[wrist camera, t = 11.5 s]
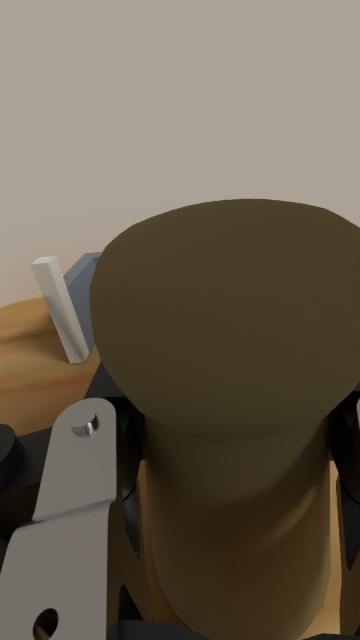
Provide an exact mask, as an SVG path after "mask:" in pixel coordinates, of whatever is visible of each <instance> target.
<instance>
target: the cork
mask: <svg viewBox="0 0 360 640" xmlns="http://www.w3.org/2000/svg"><path fill="white" fill-rule="evenodd" d="M89 303H90V319H91V325H92V331H93V336H94V340H95V343H96V346H97V349H98V352H99V355H100V358H101V361H102V364H103V366H104V368H105V369H106V370H107V372H108V373H109V375H110V376H111V377H112V379H113V380H114V381H115V383H116V384H117V386H118V387H119V388H120V389H121V391H122V392H123V393H124V394H125V395H126V396H127V397H128V399H129V400H130V401H131V402H132V403H133V404H134V405H135V407H136V408H137V409H138V410H139V411H140V412H141V413H143V419H144V427H145V438H146V455H147V460H145V468H146V482H147V495H148V508H149V521H150V534H151V548H152V555H153V560H154V564H155V568H156V573H157V577H158V582H159V585H160V587H161V589H162V591H163V592H164V594H165V596H166V598H167V600H168V601H169V603H170V605H171V607H172V609H173V610H174V612H175V614H176V616H177V617H178V618H179V619H181V620H182V621H183V622H184V623H185V624H186V625H187V626H188V627H189V628H190V629H191V630H193V631H194V632H196V633H199V634H201V635H203V636H205V637H207V638H210V639H212V640H294V639H296V638H298V637H300V636H301V635H303V633H304V632H305V630H306V629H307V627H308V626H309V625H310V623H311V622H312V620H313V619H314V617H315V616H316V615H317V613H318V612H319V610H320V609H321V607H322V605H323V600H324V596H325V592H326V588H327V583H328V579H329V575H330V457H329V419H328V414H329V413H330V412H331V411H332V410H333V409H334V408H335V407H336V406H337V405H338V404H339V403H340V402H341V401H343V400H344V399H345V398H346V397H347V396H348V395H349V394H350V393H351V392H352V391H353V389H354V388H355V387H356V385H357V384H358V383H359V381H360V228H359V227H358V226H356V225H354V224H353V223H351V222H349V221H348V220H346V219H344V218H343V217H341V216H339V215H337V214H335V213H333V212H331V211H329V210H327V209H324V208H320V207H316V206H311V205H307V204H302V203H294V202H286V201H278V200H268V199H235V200H221V201H214V202H206V203H200V204H195V205H190V206H186V207H182V208H178V209H175V210H171V211H169V212H165V213H163V214H159V215H157V216H154V217H151V218H148V219H146V220H144V221H141V222H139V223H136V224H134V225H132V226H131V227H129V228H128V229H126V230H125V231H124V232H122V233H121V234H119V235H118V236H117V237H116V238H115V239H114V240H113V241H112V242H110V243H109V244H108V245H107V246H106V247H105V249H104V251H103V252H102V254H101V256H100V257H99V259H98V262H97V265H96V268H95V271H94V274H93V277H92V280H91V283H90V287H89Z"/></svg>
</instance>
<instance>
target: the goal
mask: <svg viewBox="0 0 360 640" xmlns="http://www.w3.org/2000/svg"><path fill="white" fill-rule="evenodd" d="M101 254H102V252H97V253H85V254H84V255H83V256H82V257H81V258H80V259H79V260H78V261H77V262H76V263H75V265H74V266H73V267H72V268H71V269H70V270H69V271H68V272H67V273H66V274H65V275H64V276H62V273H61V270H60V267H59V264H58V261H57V259H56V256H51V257H39V258H38V259H37V260H35V261H34V262H33V263H32V264H31V266H32V269H33V272H34V274H35V277H36V279H37V282H38V284H39V287H40V289H41V292H42V294H43V297H44V299H45V302H46V304H47V307H48V309H49V312H50V314H51V317H52V319H53V322H54V324H55V327H56V329H57V332H58V334H59V337H60V339H61V342H62V344H63V347H64V349H65V352H66V354H67V357H68V359H69V362H70V364H75V363H85V361H86V359H87V358H88V356H89V354H90V352H91V350H92V348H93V346H94V344H95V340H94V336H93V331H92V325H91V319H90V303H89V287H90V283H91V280H92V277H93V274H94V271H95V268H96V265H97V262H98V259H99V257H100V256H101Z"/></svg>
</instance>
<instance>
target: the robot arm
mask: <svg viewBox="0 0 360 640" xmlns="http://www.w3.org/2000/svg"><path fill="white" fill-rule="evenodd" d="M328 419H329V457H330V461H334V462H335V465H336V468H337V470H338V477H337V481H336V494H337V508H338V523H339V538H340V552H341V567H342V586H341V595H340V634H325V633H322V634H319V635H316V636H313V637H309V638H306V639H303V640H360V381H359V383H358V384H357V385H356V387H355V388H354V389H353V391H352V392H351V393H350V394H349V395H348V396H347V397H346V398H345V399H344V400H343V401H341V402H340V403H339V404H338V405H337V406H336V407H335V408H334V409H333V410H332V411H331V412H330V413H329V414H328ZM141 460H147V455H146V438H145V427H144V419H143V413H141V412H140V411H139V410H138V409H137V408H136V407H135V405H134V404H133V403H132V402H131V401H130V400H129V399H128V397H127V396H126V395H125V394H124V393H123V392H122V391H121V389H120V388H119V387H118V386H117V384H116V383H115V381H114V380H113V379H112V377H111V376H110V375H109V373H108V372H107V370H106V369H105V368H104V366H103V364H102V361H101V364H99V367H98V369H97V371H96V373H95V375H94V378H93V380H92V382H91V384H90V386H89V388H88V391H87V393H86V395H85V397H84V399H83V400H81V401H78V402H76V403H74V404H72V405H71V406H69V407H68V408H66V409H65V410H64V411H63V412H62V413H61V414H60V415H59V416H58V418H57V419H56V421H55V423H54V425H53V427H50V428H47V429H44V430H40V431H37V432H34V433H30V434H27V435H23V436H20V437H17V436H16V434H15V432H14V431H13V429H12V428H11V427H10V426H8V425H5V424H0V640H212V639H210V638H207V637H205V636H203V635H201V634H199V633H196V632H194V631H192V630H190V629H188V628H185V627H183V626H181V625H179V624H176V623H167V622H153V615H152V605H151V597H150V591H149V585H148V580H147V575H146V569H145V559H144V546H143V532H142V519H141V505H140V492H139V482H138V478H137V476H138V471H139V466H140V461H141Z"/></svg>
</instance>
